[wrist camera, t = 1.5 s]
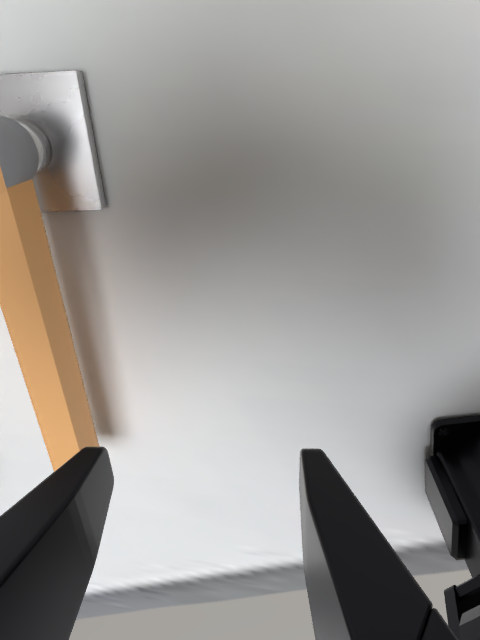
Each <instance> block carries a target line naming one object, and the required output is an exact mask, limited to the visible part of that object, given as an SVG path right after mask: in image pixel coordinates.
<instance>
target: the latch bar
mask: <svg viewBox="0 0 480 640" xmlns="http://www.w3.org/2000/svg"><path fill="white" fill-rule="evenodd" d="M38 165H39V155H38V150H37V147H36V144H35V142H34V140H33V138H32V137H31V135H30V134H29V133H28V131H27V130H26V129H25V128H24V127H23V126H22V125H20V124H19V123H18V122H16V121H15V120H13V119H11V118H8V117H5V116H0V306H1V309H2V312H3V315H4V318H5V321H6V324H7V327H8V331H9V334H10V337H11V340H12V343H13V346H14V349H15V352H16V355H17V358H18V361H19V365H20V368H21V371H22V374H23V377H24V380H25V383H26V386H27V389H28V392H29V395H30V399H31V402H32V405H33V408H34V411H35V414H36V417H37V420H38V423H39V426H40V429H41V433H42V436H43V439H44V442H45V445H46V448H47V451H48V454H49V457H50V460H51V463H52V467H53V470H54V472H55V471H56V470H57V469H58V468H59V467H61V466H62V465H63V464H64V463H66V462H67V461H68V460H69V459H70V458H72V457H73V456H74V455H75V454H76V453H78V452H79V451H80V450H81V449H83V448H85V447H99V444H98V440H97V436H96V432H95V428H94V424H93V420H92V416H91V412H90V408H89V404H88V400H87V396H86V392H85V388H84V384H83V380H82V376H81V372H80V368H79V364H78V360H77V356H76V352H75V348H74V344H73V340H72V336H71V332H70V328H69V324H68V320H67V316H66V312H65V308H64V304H63V300H62V296H61V292H60V288H59V284H58V280H57V276H56V272H55V268H54V264H53V260H52V256H51V252H50V248H49V244H48V240H47V236H46V232H45V228H44V224H43V220H42V216H41V212H40V208H39V204H38V200H37V196H36V192H35V188H34V184H33V180H32V179H33V177H34V176H35V174H36V172H37V169H38Z"/></svg>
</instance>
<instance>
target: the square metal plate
mask: <svg viewBox="0 0 480 640" xmlns="http://www.w3.org/2000/svg"><path fill="white" fill-rule="evenodd" d="M0 116H5V117H8V118H11V119H13V120H15V121H16V122H18V123H19V124H20V125H22V126H23V127H24V128H25V129H26V130H27V131H28V133H29V134H30V135H31V137H32V138H33V140H34V142H35V144H36V147H37V150H38V155H39V165H38V169H37V172H36V174H35V176H34V177H33V179H32V180H33V184H34V188H35V192H36V196H37V200H38V204H39V208H40V212H45V211H81V210H102V209H104V208H105V207H106V202H105V197H104V191H103V186H102V180H101V174H100V169H99V163H98V158H97V152H96V147H95V141H94V135H93V130H92V124H91V119H90V113H89V108H88V102H87V97H86V91H85V85H84V80H83V74H82V71H58V72H38V73H19V74H0Z"/></svg>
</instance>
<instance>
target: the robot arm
mask: <svg viewBox="0 0 480 640" xmlns="http://www.w3.org/2000/svg"><path fill="white" fill-rule="evenodd" d="M441 429H444V430H442V431H440V430H441ZM113 485H114V476H113V472H112V467H111V463H110V459H109V455H108V451H107V449H106V448H105V447H85V448H83V449H81V450H80V451H79V452H78V453H76V454H75V455H74V456H73V457H72V458H70V459H69V460H68V461H67V462H66V463H64V464H63V465H62V466H61V467H59V468H58V469H57V470H56V471H55V472H53V473H52V474H51V475H50V476H49V477H47V478H46V479H45V480H44V481H42V482H41V483H40V484H39V485H38V486H36V487H35V488H34V489H33V490H32V491H30V492H29V493H28V494H27V495H26V496H24V497H23V498H22V499H21V500H19V501H18V502H17V503H16V504H15V505H13V506H12V507H11V508H10V509H9V510H7V511H6V512H5V513H4V514H2V515H1V516H0V640H69V637H70V634H71V632H72V629H73V626H74V623H75V620H76V617H77V614H78V612H79V609H80V606H81V603H82V600H83V597H84V594H85V592H86V589H87V586H88V583H89V580H90V577H91V574H92V571H93V568H94V565H95V561H96V558H97V554H98V550H99V546H100V541H101V537H102V533H103V529H104V524H105V520H106V516H107V512H108V508H109V503H110V499H111V495H112V491H113ZM299 491H300V510H301V529H302V548H303V563H304V572H305V580H306V586H307V592H308V597H309V604H310V610H311V616H312V622H313V628H314V633H315V639H316V640H480V416H471V417H461V418H452V419H443V420H438V421H436V422H434V423H433V424H432V426H431V456H428V457H427V459H426V460H425V491H426V494H427V497H428V499H429V502H430V504H431V507H432V510H433V512H434V515H435V517H436V520H437V522H438V525H439V527H440V530H441V532H442V535H443V537H444V540H445V542H446V545H447V547H448V550H449V552H450V555H451V556H452V557H453V558H455V559H456V560H465V561H466V564H467V566H468V568H469V571H470V573H471V576H472V578H471V579H469V580H468V581H466V582H464V583H462V584H460V585H458V586H456V585H453V586H452V587H449V588H447V589H446V590H444V595H445V603H446V610H447V617H448V625H447V623H446V622H445V621H444V619H443V618H442V616H441V615H440V614H439V612H438V611H437V610H436V609H435V608H433V609H432V603H431V601H430V600H429V598H428V597H427V596H426V594H425V593H424V591H423V590H422V589H421V587H420V586H419V585H418V583H417V582H416V580H415V579H414V577H413V576H412V575H411V573H410V572H409V570H408V569H407V568H406V566H405V565H404V563H403V562H402V561H401V559H400V558H399V556H398V555H397V554H396V552H395V551H394V549H393V548H392V547H391V545H390V544H389V542H388V541H387V540H386V538H385V537H384V535H383V534H382V533H381V531H380V530H379V528H378V527H377V526H376V524H375V523H374V521H373V520H372V519H371V517H370V516H369V514H368V513H367V512H366V510H365V509H364V507H363V506H362V505H361V503H360V502H359V500H358V499H357V498H356V496H355V495H354V493H353V492H352V491H351V489H350V488H349V486H348V485H347V484H346V482H345V481H344V479H343V478H342V477H341V475H340V474H339V472H338V471H337V470H336V468H335V467H334V465H333V464H332V463H331V461H330V460H329V458H328V457H327V456H326V454H325V453H324V452H323V451H322V450H321V449H302V450H301V452H300V472H299Z"/></svg>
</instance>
